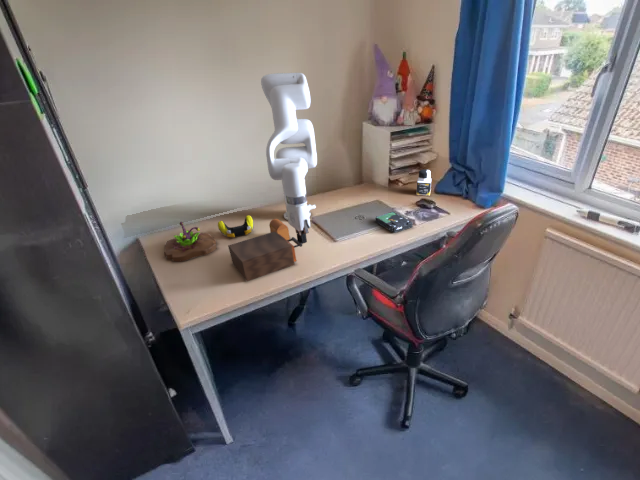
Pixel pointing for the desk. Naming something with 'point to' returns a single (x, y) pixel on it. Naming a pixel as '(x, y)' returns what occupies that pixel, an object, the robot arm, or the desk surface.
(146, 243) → the desk surface
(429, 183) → the medicine bottle
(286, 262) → the cabinet
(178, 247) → the plant
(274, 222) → the brown rounded block
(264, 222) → the desk surface
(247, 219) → the gaming controller
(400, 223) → the disk drive
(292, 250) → the drawer
